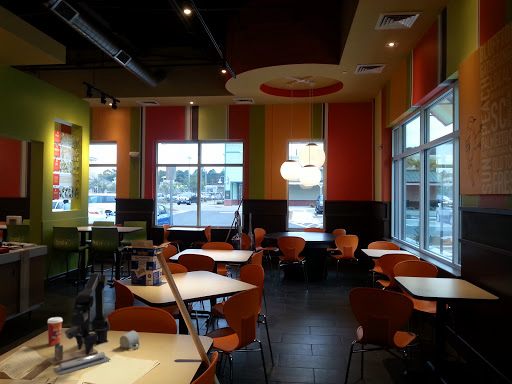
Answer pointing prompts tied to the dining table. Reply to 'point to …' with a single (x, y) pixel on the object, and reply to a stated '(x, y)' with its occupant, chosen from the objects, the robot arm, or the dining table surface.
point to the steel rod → (82, 361)
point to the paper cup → (54, 330)
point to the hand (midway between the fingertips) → (83, 351)
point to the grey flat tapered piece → (81, 366)
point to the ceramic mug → (130, 340)
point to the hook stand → (68, 355)
